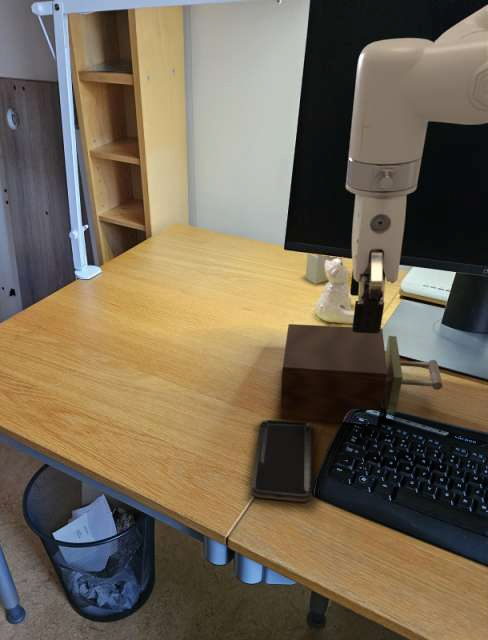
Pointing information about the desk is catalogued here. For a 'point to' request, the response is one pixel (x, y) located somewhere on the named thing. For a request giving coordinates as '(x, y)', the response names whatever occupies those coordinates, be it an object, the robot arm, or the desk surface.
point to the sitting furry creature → (335, 295)
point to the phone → (284, 461)
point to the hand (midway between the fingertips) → (363, 312)
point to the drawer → (396, 377)
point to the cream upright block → (317, 267)
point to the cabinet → (331, 372)
